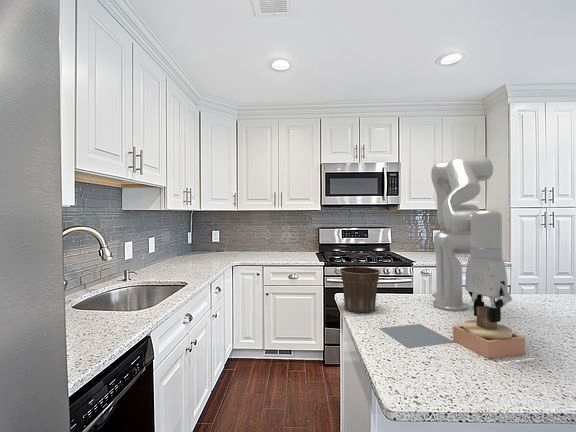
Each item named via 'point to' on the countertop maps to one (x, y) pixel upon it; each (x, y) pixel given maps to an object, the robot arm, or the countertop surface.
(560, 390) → the countertop surface
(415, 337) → the mat
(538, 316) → the countertop surface
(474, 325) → the lid
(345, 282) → the plant pot
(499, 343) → the salmon open box
